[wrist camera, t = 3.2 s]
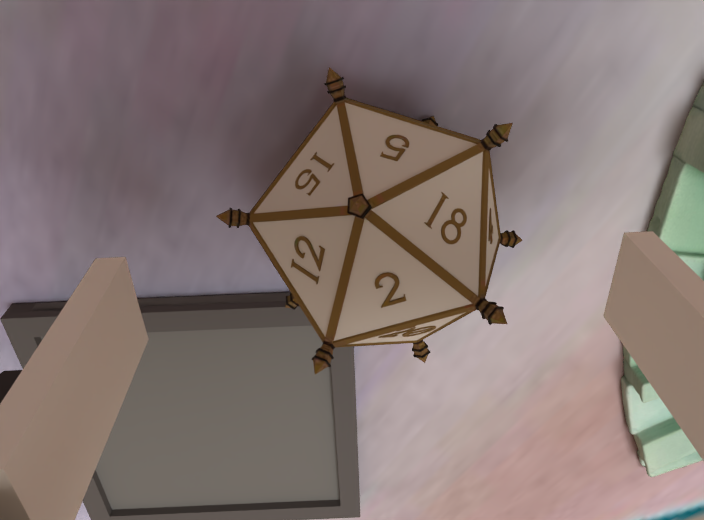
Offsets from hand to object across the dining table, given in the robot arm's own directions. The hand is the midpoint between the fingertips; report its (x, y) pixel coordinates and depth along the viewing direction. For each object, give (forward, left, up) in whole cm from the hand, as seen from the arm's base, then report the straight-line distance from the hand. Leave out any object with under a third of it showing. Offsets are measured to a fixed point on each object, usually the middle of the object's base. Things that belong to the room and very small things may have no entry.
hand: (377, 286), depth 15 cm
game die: (0, 0, -7) cm, 7 cm away
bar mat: (+12, -8, -7) cm, 16 cm away
